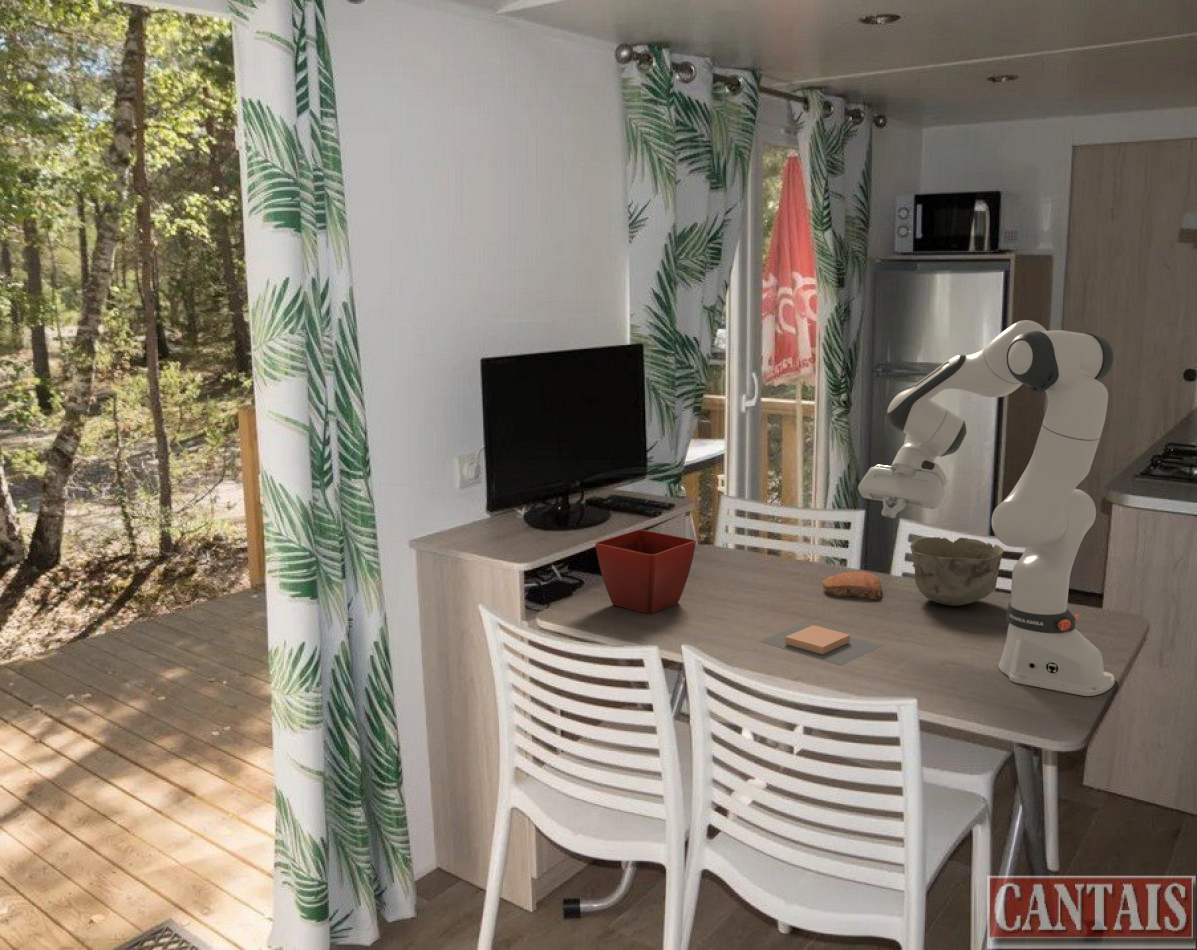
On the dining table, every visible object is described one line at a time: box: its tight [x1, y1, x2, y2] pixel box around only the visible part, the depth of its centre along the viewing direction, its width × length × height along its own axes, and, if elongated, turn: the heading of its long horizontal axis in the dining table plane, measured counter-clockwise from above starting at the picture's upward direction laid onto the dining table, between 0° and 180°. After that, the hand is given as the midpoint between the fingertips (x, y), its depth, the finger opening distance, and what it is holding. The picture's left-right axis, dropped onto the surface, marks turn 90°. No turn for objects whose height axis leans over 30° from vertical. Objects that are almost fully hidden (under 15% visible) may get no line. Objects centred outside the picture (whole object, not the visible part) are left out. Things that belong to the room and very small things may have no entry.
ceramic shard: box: [822, 571, 882, 600], centre depth 286 cm, size 15×6×15 cm
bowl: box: [909, 536, 1004, 607], centre depth 272 cm, size 22×22×15 cm
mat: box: [758, 623, 883, 666], centre depth 245 cm, size 22×17×1 cm
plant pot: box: [594, 529, 697, 615], centre depth 275 cm, size 19×19×17 cm
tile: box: [785, 624, 851, 655], centre depth 244 cm, size 10×2×11 cm
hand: (887, 515), depth 252 cm, fingers closed
